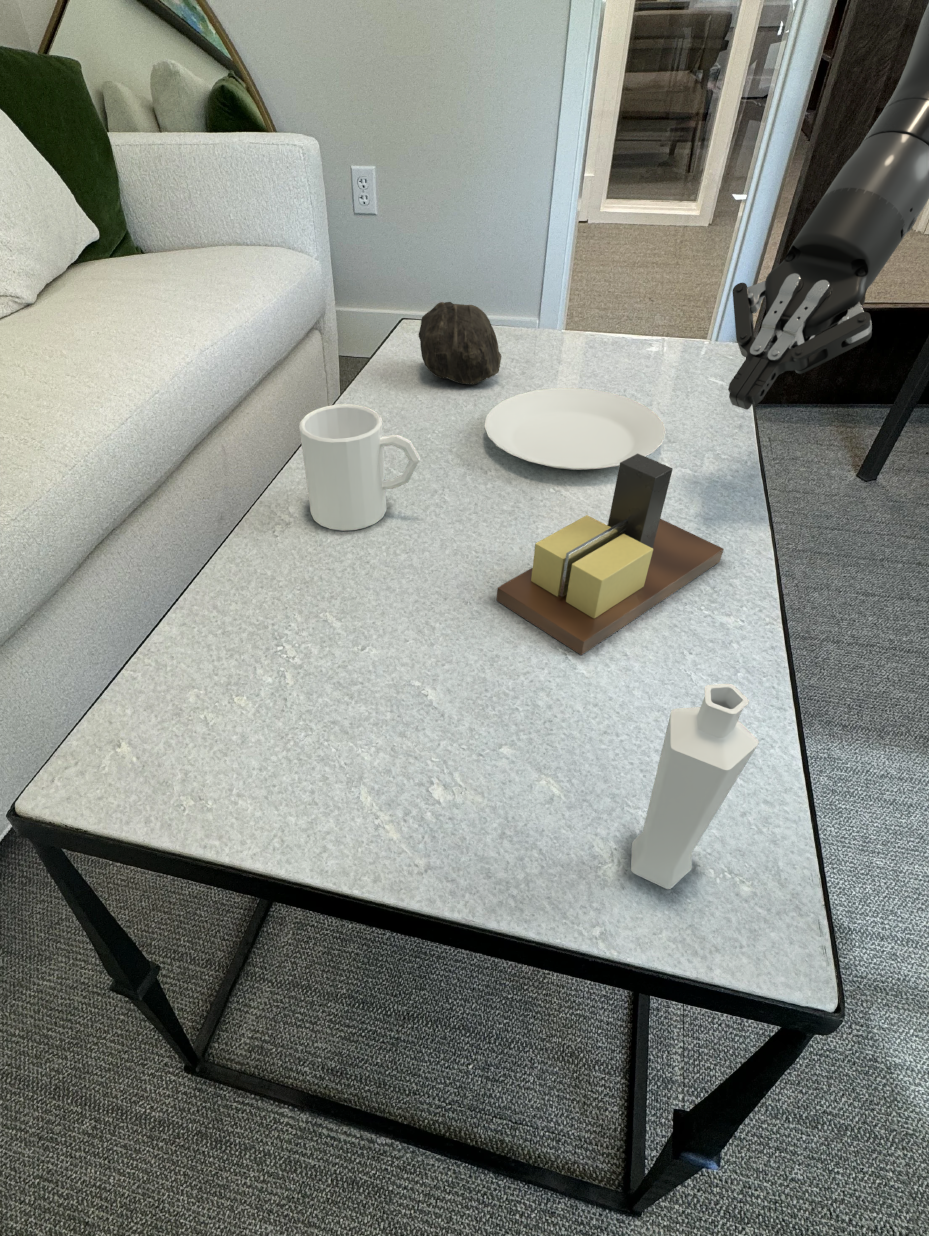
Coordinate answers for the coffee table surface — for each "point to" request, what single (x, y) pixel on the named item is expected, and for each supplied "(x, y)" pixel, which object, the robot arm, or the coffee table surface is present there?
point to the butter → (591, 567)
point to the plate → (574, 428)
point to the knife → (629, 508)
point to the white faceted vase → (692, 782)
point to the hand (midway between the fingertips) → (738, 403)
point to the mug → (349, 465)
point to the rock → (459, 343)
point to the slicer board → (668, 571)
